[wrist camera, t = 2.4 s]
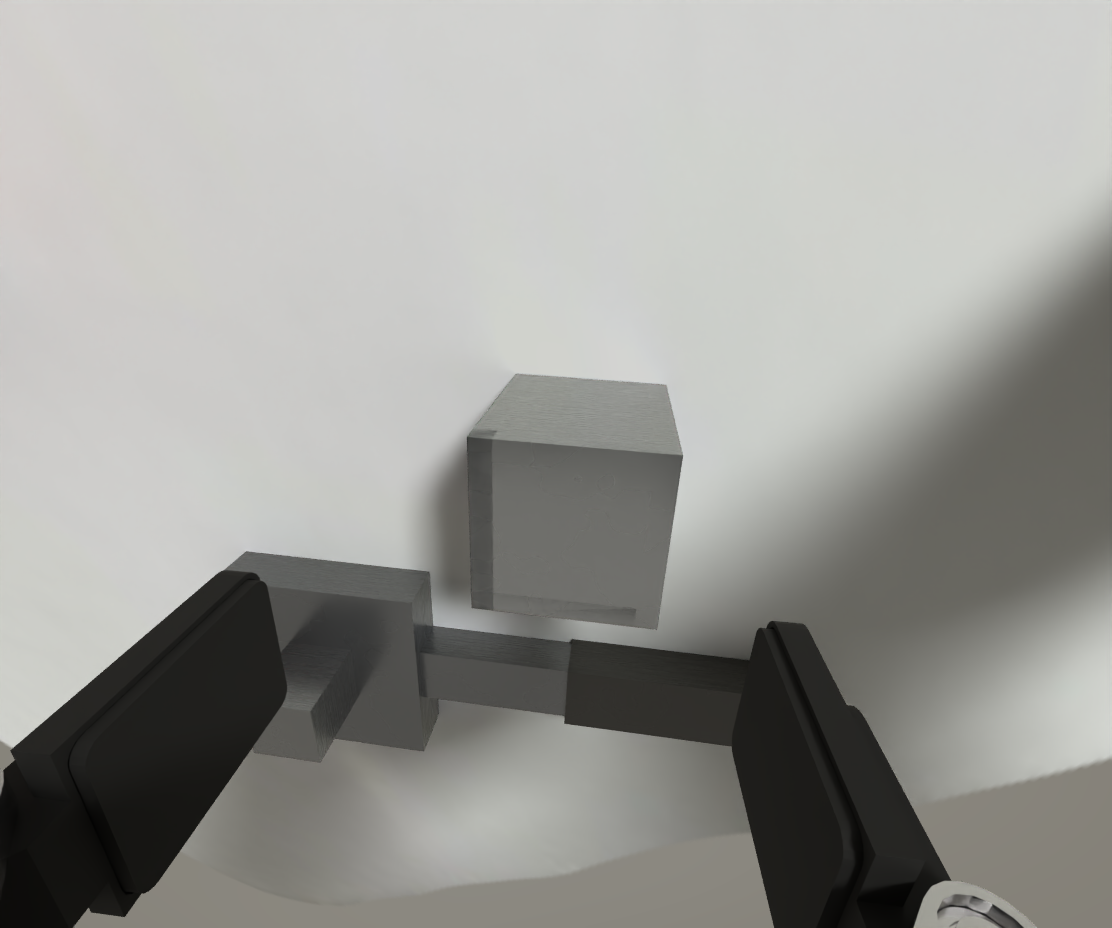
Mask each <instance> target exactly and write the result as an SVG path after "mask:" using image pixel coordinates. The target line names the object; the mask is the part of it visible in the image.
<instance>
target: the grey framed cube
mask: <svg viewBox="0 0 1112 928" xmlns="http://www.w3.org/2000/svg"><path fill="white" fill-rule="evenodd" d="M467 455H468V491H469V526H470V562H471V598H472V608H476V609H485V610H493V611H502V612H510V613H519V614H527V615H536V616H545V617H553V618H562V619H570V620H579V621H587V622H596V623H604V624H613V625H621V626H630V627H638V628H647V629H655V630H657V625H658V619H659V612H660V605H661V599H662V592H663V585H664V579H665V572H666V565H667V559H668V552H669V545H670V539H671V532H672V525H673V519H674V512H675V505H676V499H677V492H678V486H679V479H680V472H681V466H682V459H683V453H682V449H681V445H680V441H679V436H678V432H677V428H676V424H675V419H674V415H673V411H672V407H671V403H670V398H669V394H668V390H667V386H666V385H660V384H647V383H633V382H619V381H606V380H592V379H578V378H565V377H551V376H537V375H524V374H516V375H515V376H514V377H513V379H512V380H511V381H510V382H509V384H508V385H507V386H506V388H505V389H504V390H503V391H502V393H501V394H500V395H499V397H498V398H497V399H496V400H495V402H494V403H493V404H492V405H491V407H490V408H489V409H488V411H487V412H486V413H485V414H484V416H483V417H482V418H481V420H480V421H479V422H478V423H477V425H476V426H475V427H474V429H473V430H472V431H471V432H470V434H469V435H468V436H467Z"/></svg>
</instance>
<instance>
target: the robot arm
mask: <svg viewBox="0 0 1112 928" xmlns="http://www.w3.org/2000/svg"><path fill="white" fill-rule="evenodd" d="M286 694H287V681H286V677H285V672H284V667H283V662H282V657H281V652H280V647H279V642H278V637H277V632H276V627H275V622H274V617H273V612H272V607H271V602H270V597H269V592H268V588H267V585H266V583H265V582H263V581H261V580H260V577H259V576H258V575H257V574H256V573H253V572H242V571H232V570H224V571H221V572H219V573H218V574H216V575H215V576H214V577H213V578H212V579H211V580H209V581H208V582H207V583H206V584H205V585H204V586H202V587H201V588H200V589H199V590H198V591H197V592H195V593H194V594H193V595H192V596H191V597H190V598H188V599H187V600H186V601H185V602H184V603H182V604H181V605H180V606H179V607H178V608H177V609H175V610H174V611H173V612H172V613H171V614H170V615H168V616H167V617H166V618H165V619H164V620H163V621H161V622H160V623H159V624H158V625H157V626H156V627H154V628H153V629H152V630H151V631H150V632H148V633H147V634H146V635H145V636H144V637H143V638H141V639H140V640H139V641H138V642H137V643H136V644H134V645H133V646H132V647H131V648H130V649H129V650H127V651H126V652H125V653H124V654H123V655H122V656H120V657H119V658H118V659H117V660H116V661H115V662H113V663H112V664H111V665H110V666H109V667H107V668H106V669H105V670H104V671H103V672H102V673H100V674H99V675H98V676H97V677H96V678H95V679H93V680H92V681H91V682H90V683H89V684H88V685H86V686H85V687H84V688H83V689H82V690H81V691H79V692H78V693H77V694H76V695H75V696H74V697H72V698H71V699H70V700H69V701H68V702H66V703H65V704H64V705H63V706H62V707H61V708H59V709H58V710H57V711H56V712H55V713H54V714H52V715H51V716H50V717H49V718H48V719H47V720H45V721H44V722H43V723H42V724H41V725H40V726H38V727H37V728H36V729H35V730H34V731H33V732H31V733H30V734H29V735H28V736H27V737H25V738H24V739H23V740H22V741H21V742H20V743H18V744H17V745H16V746H15V747H14V748H13V749H12V750H10V751H11V753H12V755H13V757H14V759H15V761H14V762H12V763H11V764H10V765H9V766H8V767H7V768H5V769H4V770H3V771H2V770H1V769H0V928H75V924H76V923H77V922H78V920H79V919H80V918H81V916H82V915H83V914H84V913H85V911H86V910H87V909H88V907H89V909H90V911H91V912H92V913H100V914H107V915H114V916H121V917H125V916H126V914H127V913H128V911H129V910H130V909H131V907H132V906H133V905H134V903H135V902H136V900H137V899H138V898H139V896H140V895H141V893H146V892H148V891H149V890H151V889H152V888H153V887H154V886H155V885H156V883H157V882H158V881H159V880H160V878H161V877H162V876H163V874H164V873H165V871H166V870H167V868H168V867H169V865H170V864H171V863H172V861H173V860H174V858H175V857H176V856H177V854H178V853H179V851H180V850H181V849H182V847H183V846H184V844H185V843H186V841H187V840H188V839H189V837H190V836H191V834H192V833H193V831H194V830H195V829H196V827H197V826H198V824H199V823H200V821H201V820H202V819H203V817H204V816H205V814H206V813H207V811H208V810H209V809H210V807H211V806H212V804H213V803H214V802H215V800H216V799H217V797H218V796H219V794H220V793H221V792H222V790H223V789H224V787H225V786H226V784H227V783H228V782H229V780H230V779H231V777H232V776H233V774H234V773H235V772H236V770H237V769H238V767H239V766H240V764H241V763H242V762H243V760H244V759H245V757H246V756H247V755H248V753H249V752H250V750H251V749H252V747H253V746H254V745H255V743H256V742H257V740H258V739H259V737H260V736H261V735H262V733H263V732H264V730H265V729H266V727H267V726H268V725H269V723H270V722H271V720H272V719H273V717H274V716H275V715H276V713H277V712H278V710H279V709H280V708H281V706H282V704H283V703H284V700H285V698H286ZM732 752H733V758H734V762H735V766H736V770H737V774H738V778H739V783H740V787H741V791H742V795H743V799H744V803H745V808H746V812H747V816H748V820H749V824H750V829H751V833H752V837H753V841H754V845H755V849H756V854H757V858H758V862H759V866H760V870H761V874H762V878H763V883H764V887H765V891H766V895H767V900H768V904H769V908H770V912H771V916H772V920H773V925H774V928H1037V927H1036V926H1035V925H1034V924H1033V923H1032V922H1031V921H1030V920H1029V919H1028V918H1027V917H1025V916H1024V915H1023V914H1022V913H1021V912H1019V911H1018V910H1017V909H1016V908H1014V907H1013V906H1012V905H1010V904H1009V903H1008V902H1007V901H1005V900H1004V899H1002V898H1000V897H998V896H996V895H994V894H992V893H991V892H989V891H987V890H985V889H984V888H981V887H978V886H975V885H972V884H968V883H966V882H963V881H951V879H950V877H949V876H948V874H947V872H946V870H945V868H944V866H943V864H942V862H941V861H940V859H939V857H938V855H937V853H936V852H935V849H934V848H933V846H932V844H931V842H930V840H929V838H928V836H927V834H926V832H925V831H924V829H923V827H922V825H921V823H920V821H919V819H918V818H917V815H916V814H915V812H914V810H913V808H912V806H911V804H910V802H909V800H908V799H907V797H906V795H905V793H904V791H903V789H902V787H901V785H900V784H899V782H898V780H897V778H896V776H895V774H894V772H893V770H892V769H891V767H890V765H889V763H888V761H887V759H886V757H885V755H884V754H883V752H882V750H881V748H880V746H879V744H878V742H877V740H876V739H875V737H874V735H873V733H872V731H871V729H870V727H869V725H868V723H867V722H866V720H865V718H864V717H863V715H862V714H861V712H860V711H859V710H858V709H857V708H855V707H854V706H848V705H846V703H845V701H844V699H843V697H842V695H841V693H840V691H839V689H838V687H837V685H836V683H835V682H834V680H833V678H832V676H831V674H830V672H829V670H828V668H827V666H826V664H825V662H824V660H823V658H822V656H821V654H820V652H819V650H818V648H817V646H816V644H815V642H814V640H813V638H812V636H811V634H810V632H809V630H808V629H807V627H806V626H805V625H804V624H800V623H789V622H778V621H771V622H769V624H768V625H767V628H766V629H765V628H759V629H758V630H757V633H756V636H755V640H754V645H753V649H752V653H751V657H750V661H749V666H748V670H747V674H746V678H745V682H744V687H743V691H742V695H741V699H740V703H739V708H738V712H737V716H736V720H735V724H734V729H733V733H732Z"/></svg>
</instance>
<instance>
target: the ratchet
mask: <svg viewBox="0 0 1112 928" xmlns="http://www.w3.org/2000/svg"><path fill="white" fill-rule="evenodd" d="M225 570H232V571H242V572H253V573H256V574H257V575H258V576H259V577H260V580H261V581H263V582H265V583H266V585H267V588H268V592H269V597H270V602H271V607H272V612H273V617H274V622H275V627H276V632H277V637H278V642H279V647H280V652H281V657H282V662H283V667H284V672H285V677H286V681H287V694H286V698H285V700H284V703H283V704H282V706H281V708H280V709H279V710H278V712H277V713H276V715H275V716H274V717H273V719H272V720H271V722H270V723H269V725H268V726H267V727H266V729H265V730H264V732H263V733H262V735H261V736H260V737H259V739H258V740H257V742H256V743H255V745H254V746H253V750H254V753H260V754H267V755H273V756H280V757H287V758H293V759H300V760H307V761H313V762H321V761H322V759H323V757H324V755H325V754H326V752H327V750H328V749H329V747H330V745H331V743H332V742H333V740H334V738H335V739H342V740H349V741H356V742H363V743H369V744H376V745H383V746H390V747H397V748H404V749H411V750H418V751H424V750H425V748H426V745H427V742H428V740H429V737H430V735H431V732H432V730H433V727H434V725H435V722H436V720H437V717H438V714H439V708H438V699H443V700H451V701H458V702H466V703H473V704H480V705H488V706H495V707H503V708H510V709H517V710H525V711H532V712H540V713H547V714H554V715H562V716H565V720H564V724H571V725H579V726H586V727H593V728H601V729H608V730H615V731H623V732H630V733H637V734H645V735H652V736H659V737H667V738H674V739H681V740H689V741H696V742H703V743H711V744H718V745H725V746H732V733H733V729H734V724H735V720H736V716H737V712H738V708H739V703H740V699H741V695H742V691H743V687H744V682H745V678H746V674H747V670H748V666H749V661H748V660H740V659H731V658H723V657H715V656H707V655H698V654H690V653H682V652H674V651H665V650H657V649H649V648H640V647H632V646H624V645H616V644H607V643H599V642H591V641H583V640H574V639H572V643H568V642H560V641H552V640H543V639H535V638H527V637H519V636H510V635H502V634H494V633H486V632H478V631H469V630H461V629H453V628H445V627H436V626H433V618H432V602H431V587H430V572H425V571H416V570H407V569H398V568H389V567H380V566H372V565H363V564H354V563H345V562H336V561H327V560H318V559H309V558H300V557H291V556H282V555H273V554H264V553H255V552H245V553H244V554H243V555H241V556H240V557H239V558H238V559H237V560H236V561H234V562H233V563H232V564H231V565H230V566H228V567H227V568H226V569H225Z"/></svg>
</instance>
